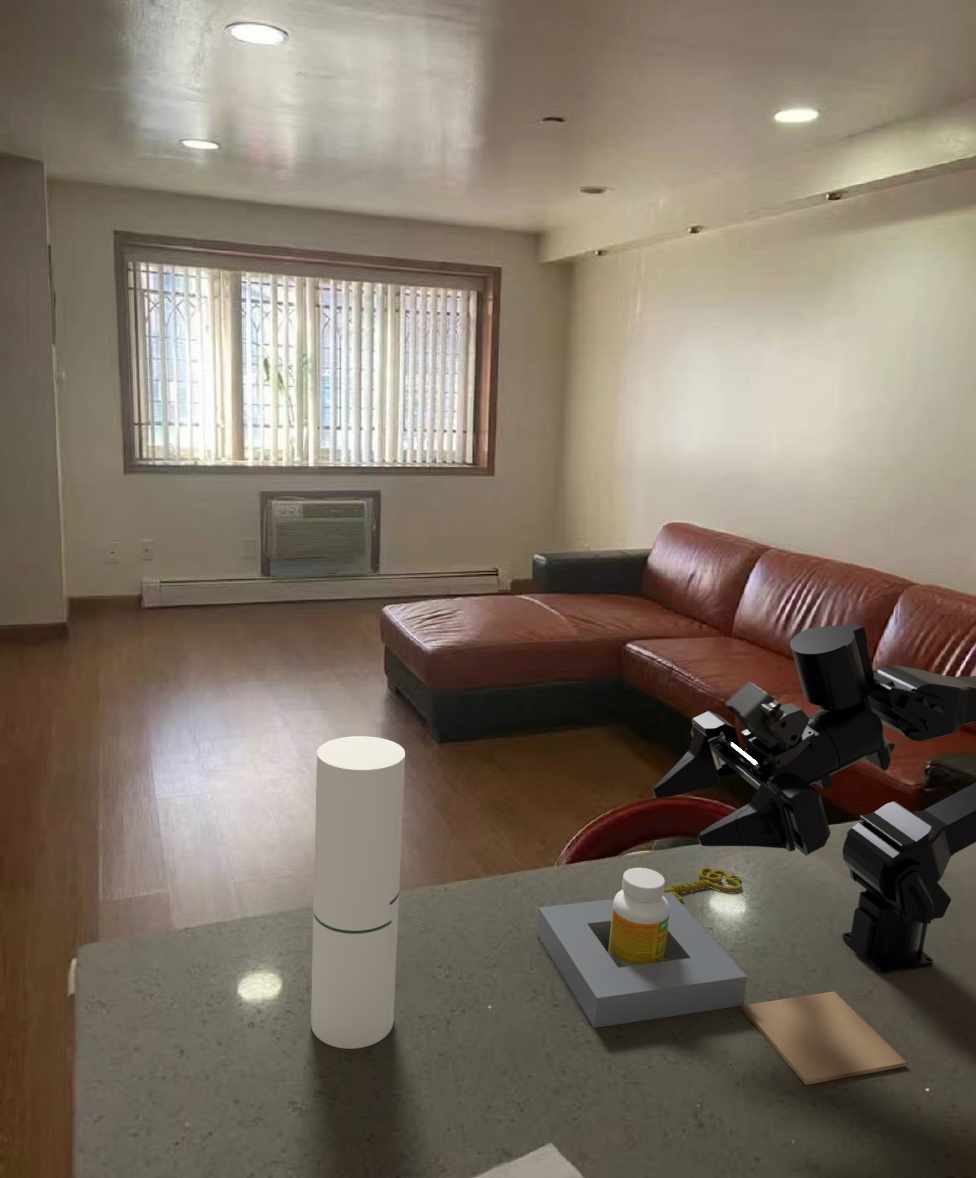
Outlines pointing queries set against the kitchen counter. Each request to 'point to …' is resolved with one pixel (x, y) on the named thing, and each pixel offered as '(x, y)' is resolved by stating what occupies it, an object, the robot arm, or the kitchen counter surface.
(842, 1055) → the pad
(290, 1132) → the kitchen counter surface
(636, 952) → the supplement bottle
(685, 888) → the key
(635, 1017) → the grey rectangular frame
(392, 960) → the cylindrical container
